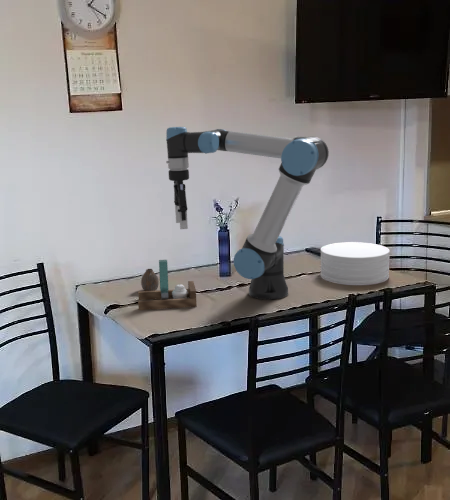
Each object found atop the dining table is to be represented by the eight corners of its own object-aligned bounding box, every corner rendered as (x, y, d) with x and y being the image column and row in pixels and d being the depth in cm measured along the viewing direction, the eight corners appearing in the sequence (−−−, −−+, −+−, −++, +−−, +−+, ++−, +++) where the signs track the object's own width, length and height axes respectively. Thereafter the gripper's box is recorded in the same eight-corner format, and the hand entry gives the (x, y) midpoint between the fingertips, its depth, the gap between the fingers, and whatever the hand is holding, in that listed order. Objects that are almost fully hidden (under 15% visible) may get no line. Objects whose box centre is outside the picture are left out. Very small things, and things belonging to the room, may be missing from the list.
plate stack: (401, 282, 279) (402, 254, 276) (336, 288, 272) (336, 259, 270) (370, 265, 305) (371, 240, 303) (310, 270, 299) (310, 244, 296)
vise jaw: (168, 298, 262) (166, 257, 259) (169, 306, 253) (167, 263, 249) (160, 298, 262) (158, 257, 258) (161, 306, 253) (159, 264, 249)
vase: (145, 294, 269) (144, 272, 267) (139, 290, 275) (137, 268, 273) (161, 291, 272) (160, 270, 270) (155, 287, 278) (154, 266, 276)
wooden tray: (193, 296, 265) (193, 281, 264) (196, 306, 252) (196, 290, 251) (138, 299, 263) (137, 283, 262) (138, 310, 250) (137, 294, 248)
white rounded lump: (184, 305, 254) (183, 287, 253) (169, 303, 256) (168, 285, 255) (191, 300, 260) (190, 282, 258) (176, 299, 262) (176, 281, 260)
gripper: (165, 166, 267) (168, 220, 272) (171, 173, 243) (175, 232, 248) (184, 165, 268) (187, 219, 273) (193, 172, 244) (196, 230, 249)
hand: (181, 225), depth 260 cm, fingers open, 13 cm apart
